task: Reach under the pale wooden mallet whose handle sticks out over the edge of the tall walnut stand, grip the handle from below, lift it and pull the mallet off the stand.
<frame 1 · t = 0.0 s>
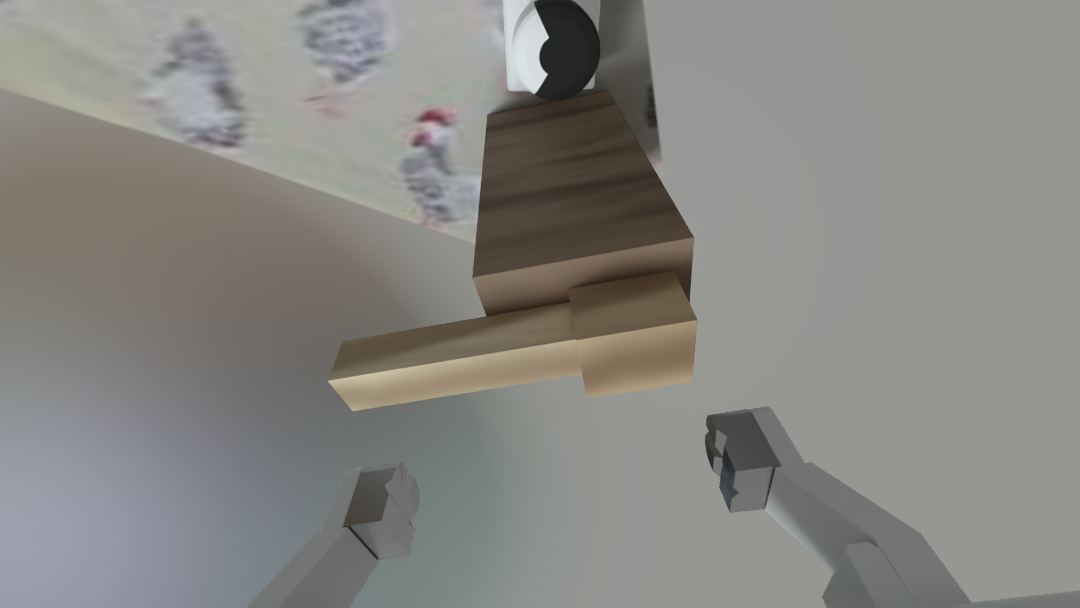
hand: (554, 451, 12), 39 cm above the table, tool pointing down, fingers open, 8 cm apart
stand: (553, 147, 46), on the table
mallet: (524, 328, 27), point 26 cm above the table, touching stand
medicine bottle: (545, 23, 38), on the table
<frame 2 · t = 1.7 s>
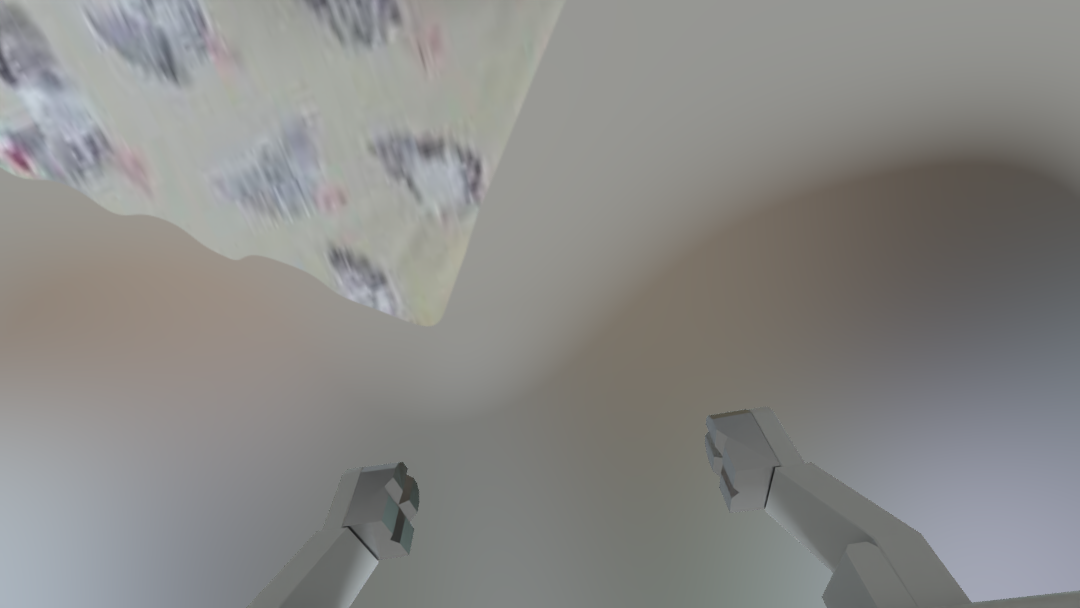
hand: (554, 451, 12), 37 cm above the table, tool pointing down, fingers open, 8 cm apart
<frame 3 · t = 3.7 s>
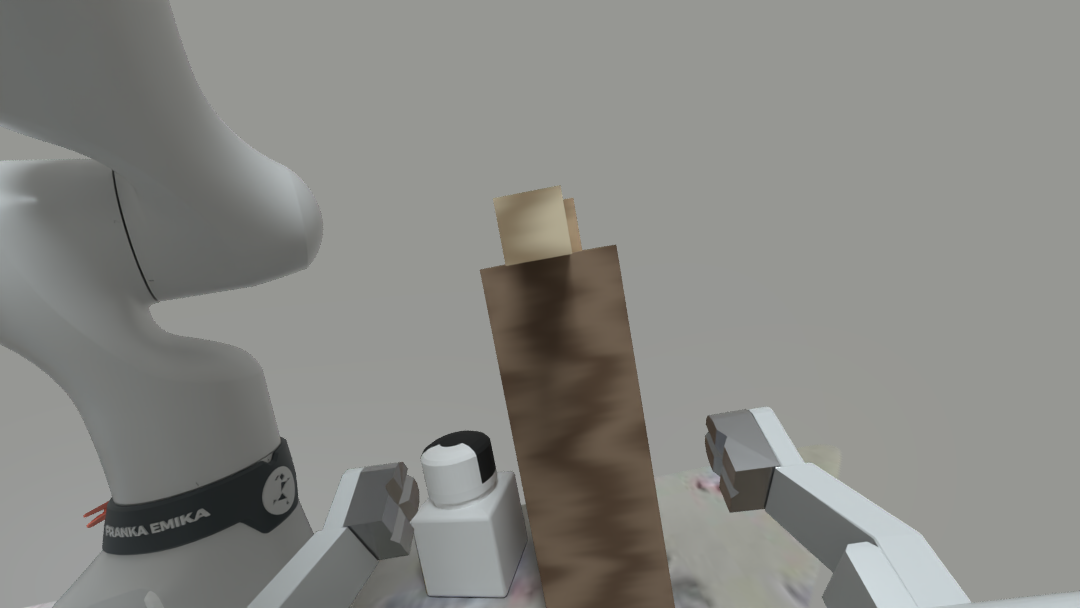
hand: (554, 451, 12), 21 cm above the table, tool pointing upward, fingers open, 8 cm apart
stand: (604, 558, 37), on the table
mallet: (548, 257, 30), point 26 cm above the table, touching stand
medicine bottle: (481, 569, 39), on the table
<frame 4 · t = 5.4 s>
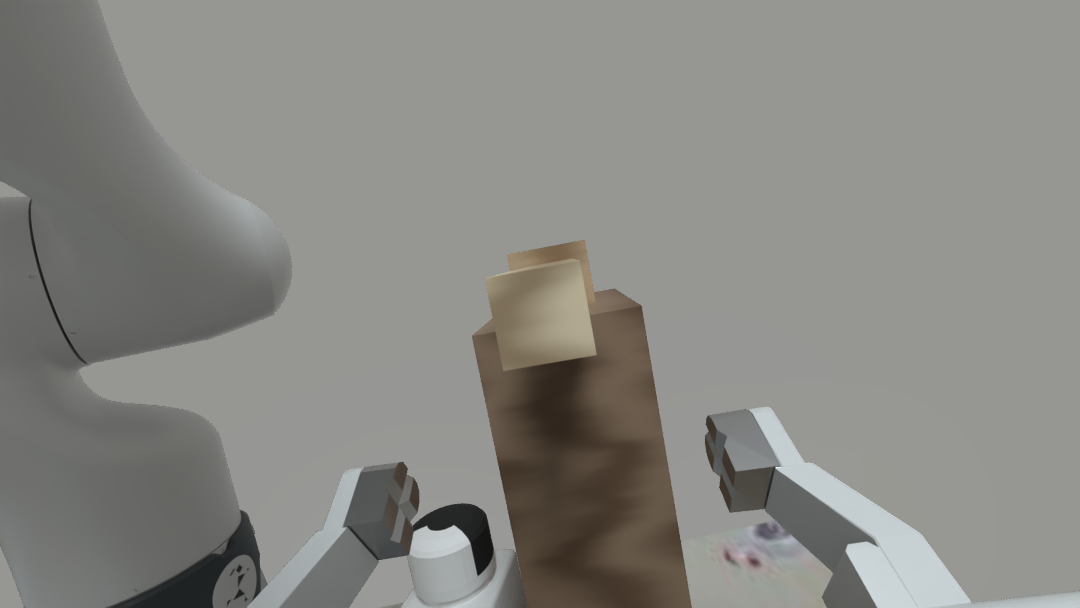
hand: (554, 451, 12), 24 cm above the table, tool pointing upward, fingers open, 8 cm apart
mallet: (556, 315, 25), point 26 cm above the table, touching stand
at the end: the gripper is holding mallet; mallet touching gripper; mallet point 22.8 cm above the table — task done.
